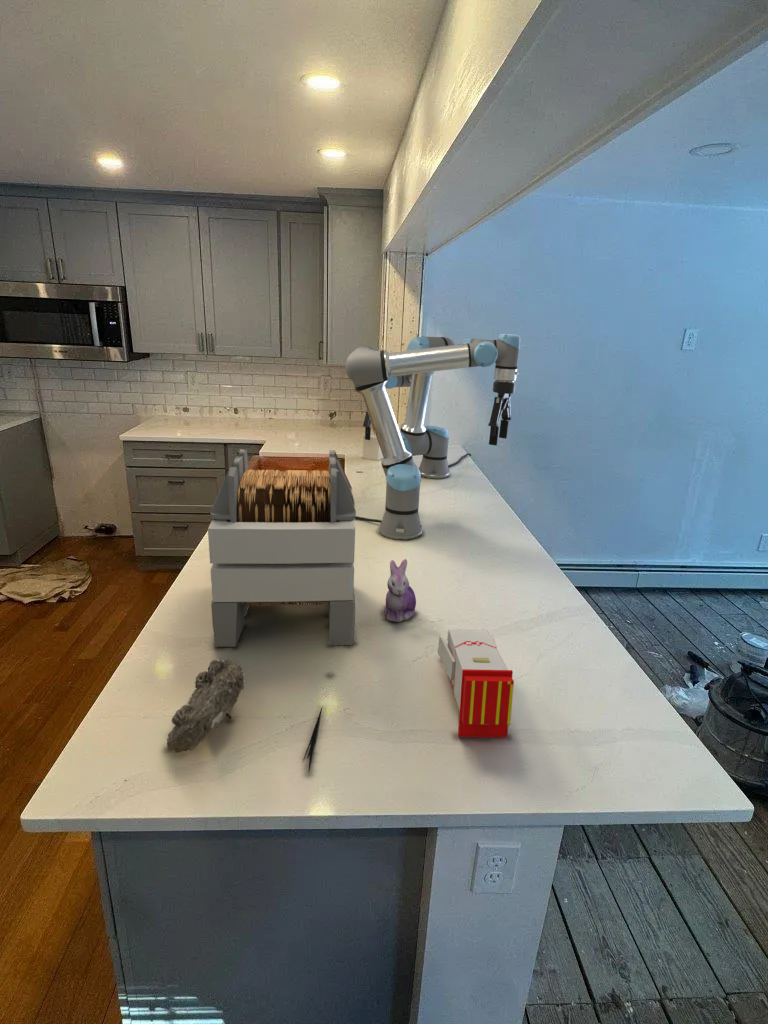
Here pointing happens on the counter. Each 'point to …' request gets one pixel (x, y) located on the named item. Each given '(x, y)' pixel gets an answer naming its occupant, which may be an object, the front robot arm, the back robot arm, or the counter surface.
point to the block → (372, 448)
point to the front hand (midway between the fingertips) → (497, 441)
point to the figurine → (399, 594)
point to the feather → (313, 740)
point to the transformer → (282, 546)
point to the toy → (478, 682)
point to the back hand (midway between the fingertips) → (373, 437)
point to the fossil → (206, 705)
